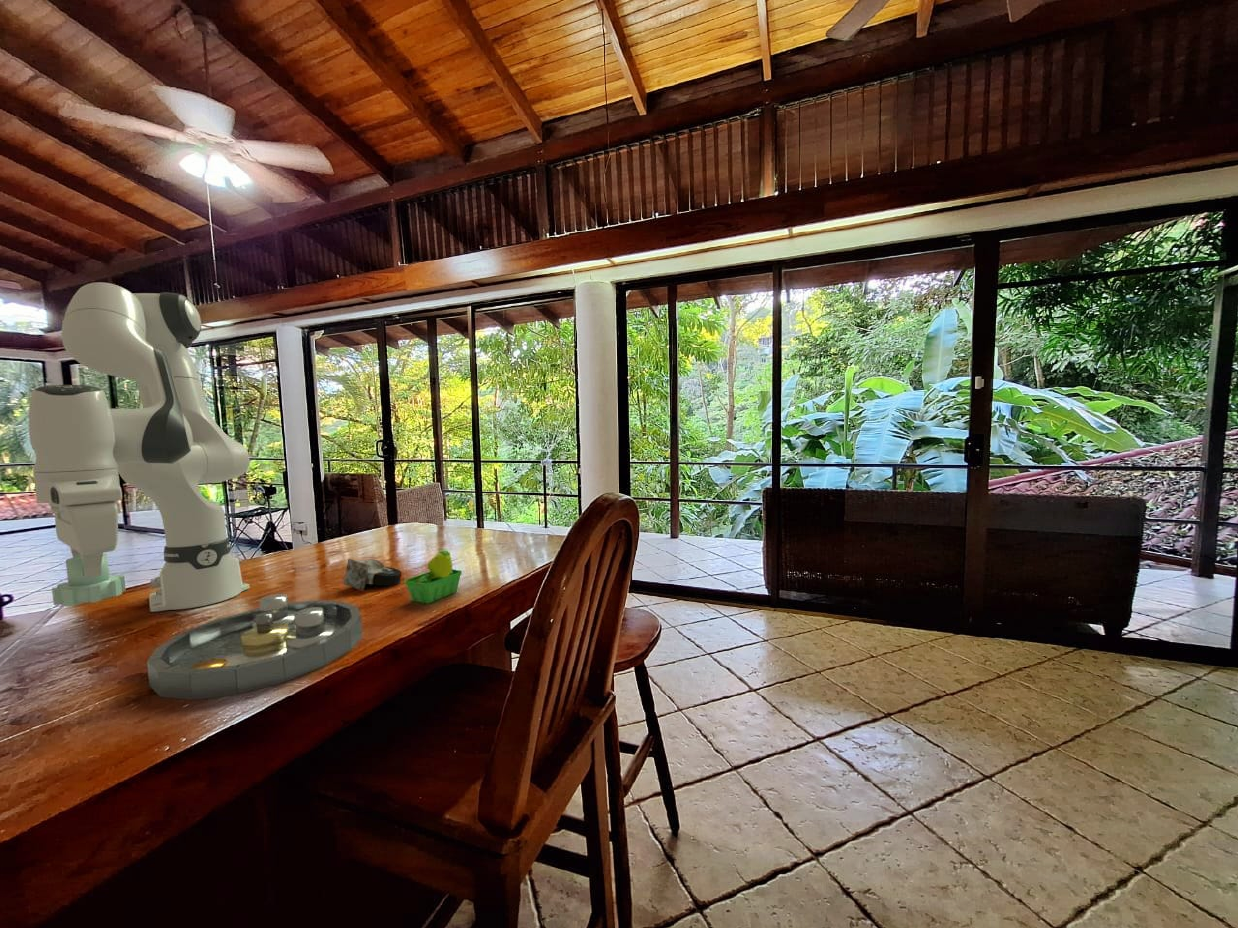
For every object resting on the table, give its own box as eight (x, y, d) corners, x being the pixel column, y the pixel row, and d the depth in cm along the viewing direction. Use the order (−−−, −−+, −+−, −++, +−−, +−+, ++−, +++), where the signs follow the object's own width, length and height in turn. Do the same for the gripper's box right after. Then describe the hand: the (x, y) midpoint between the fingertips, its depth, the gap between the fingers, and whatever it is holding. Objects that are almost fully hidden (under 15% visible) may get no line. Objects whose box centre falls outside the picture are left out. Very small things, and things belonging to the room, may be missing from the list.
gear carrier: (129, 666, 83) (124, 624, 82) (316, 609, 108) (314, 576, 107) (186, 721, 66) (181, 669, 65) (392, 638, 91) (389, 600, 90)
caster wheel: (405, 589, 127) (376, 597, 118) (371, 578, 131) (341, 584, 121) (410, 565, 127) (381, 570, 118) (377, 554, 131) (346, 558, 121)
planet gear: (49, 599, 76) (45, 559, 75) (118, 585, 82) (115, 548, 82) (58, 609, 72) (54, 567, 71) (131, 594, 78) (127, 555, 77)
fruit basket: (441, 586, 121) (439, 542, 120) (468, 591, 117) (466, 545, 116) (403, 602, 111) (400, 554, 110) (431, 607, 107) (428, 557, 106)
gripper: (37, 486, 79) (46, 568, 80) (61, 495, 67) (71, 590, 68) (93, 482, 84) (101, 559, 85) (124, 489, 72) (133, 578, 74)
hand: (88, 573), depth 77 cm, fingers closed on planet gear, 4 cm apart
